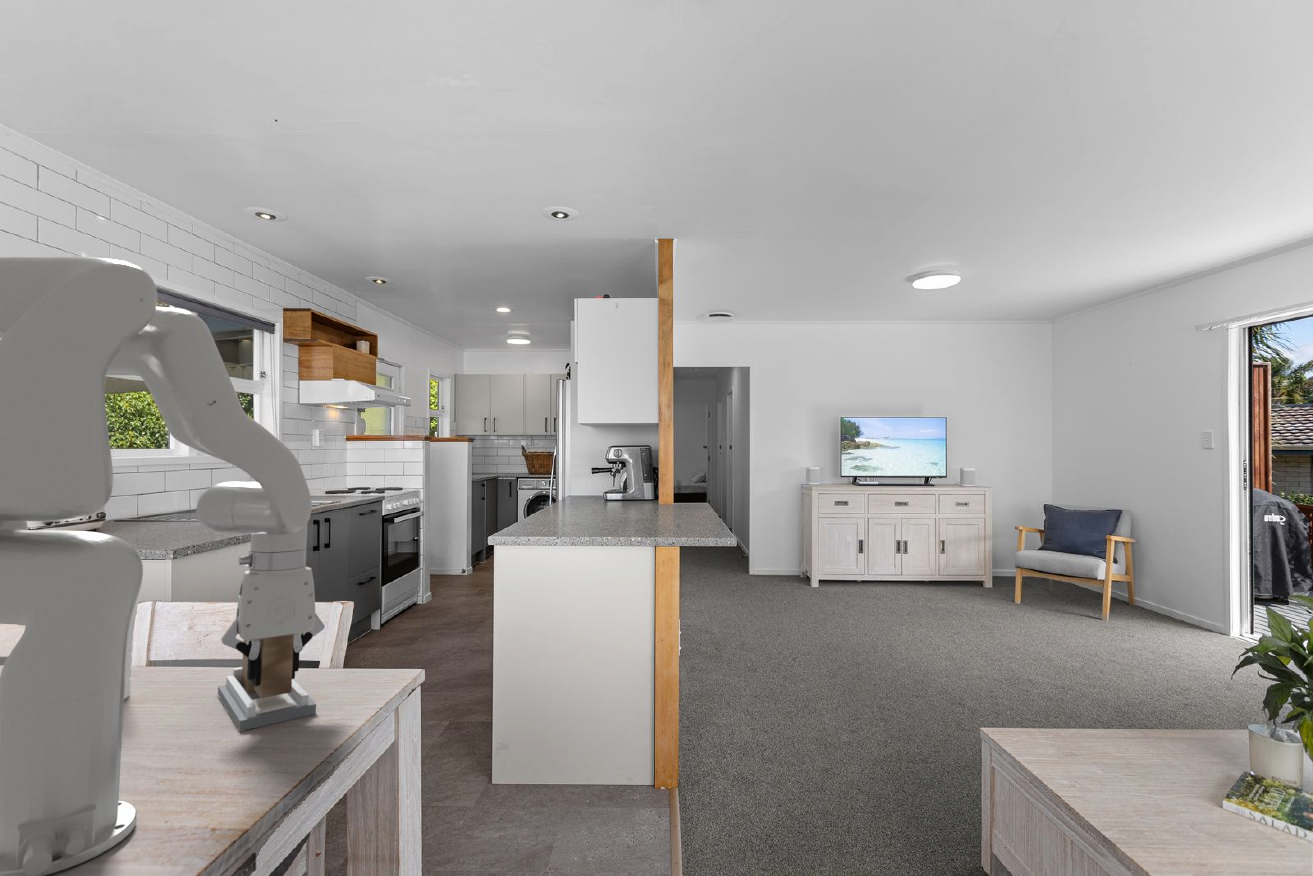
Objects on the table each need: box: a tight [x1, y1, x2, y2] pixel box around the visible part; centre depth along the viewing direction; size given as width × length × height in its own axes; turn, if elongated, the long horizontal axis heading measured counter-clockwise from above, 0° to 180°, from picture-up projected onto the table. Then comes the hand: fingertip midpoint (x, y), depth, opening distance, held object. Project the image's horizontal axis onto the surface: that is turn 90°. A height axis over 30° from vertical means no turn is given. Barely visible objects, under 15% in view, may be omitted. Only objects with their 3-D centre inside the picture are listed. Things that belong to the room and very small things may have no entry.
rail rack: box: [217, 639, 317, 732], centre depth 101 cm, size 18×10×10 cm, turn 43°
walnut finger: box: [254, 635, 294, 698], centre depth 98 cm, size 4×6×9 cm
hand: (273, 679), depth 98 cm, fingers closed on walnut finger, 4 cm apart
